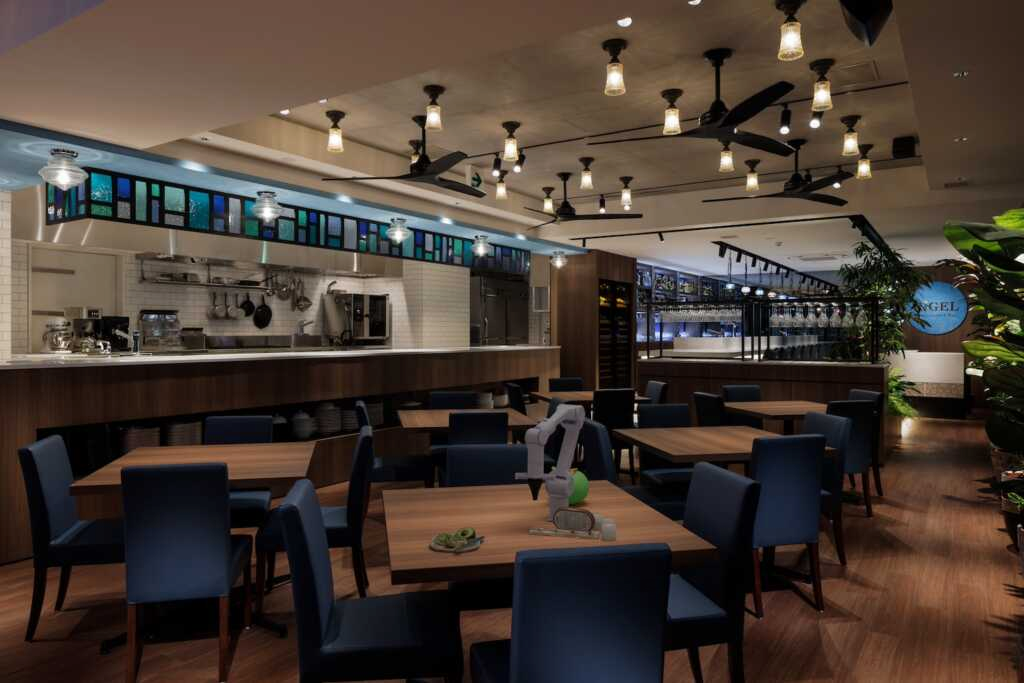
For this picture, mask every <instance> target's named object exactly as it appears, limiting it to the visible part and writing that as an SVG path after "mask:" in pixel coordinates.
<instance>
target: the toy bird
mask: <svg viewBox="0 0 1024 683" xmlns="http://www.w3.org/2000/svg"><path fill="white" fill-rule="evenodd" d="M556 467H557V466H556ZM556 467H555V466H552V467H551V471H553V470H555V469H556ZM569 473H570V474H571V475H572V476H573V478H574V484H573V486H574V488H573V492H572V494H571V495H570V496H569V499H568V500H569V505H575V504H579V503H580V502H582V501H584V500H585V499H587V497H588V495H589V492H590V485H589V481H588V478H587V476H586V475H585V474H584V473H583V472H582V471H579V470H578V468H570V471H569Z"/></svg>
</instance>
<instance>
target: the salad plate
mask: <svg viewBox="0 0 1024 683" xmlns="http://www.w3.org/2000/svg"><path fill="white" fill-rule="evenodd" d="M485 538H486V536H485V535H481V536H480V535H477V534H476V530H475V529H474V528H473V527H470V526H469V527H468V526H467V527H463V528H460V529H459V530H457V531H456V533H445V532H444V533H439V534H437V535H434V536H433V537H432V538H431V539H430V540H431V541H430V542H429V543H430V544H429V545H430V547H431V548H432V549H433V550H435V551H437V552H440V553H465V552H470V551H473V550H476V549H479V547H480V545H481V542H482V541H483V540H485ZM438 545H440V546H445V547H448V548H442V547H438Z"/></svg>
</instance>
